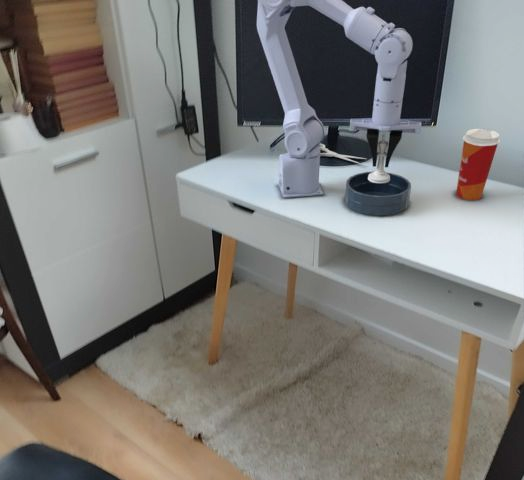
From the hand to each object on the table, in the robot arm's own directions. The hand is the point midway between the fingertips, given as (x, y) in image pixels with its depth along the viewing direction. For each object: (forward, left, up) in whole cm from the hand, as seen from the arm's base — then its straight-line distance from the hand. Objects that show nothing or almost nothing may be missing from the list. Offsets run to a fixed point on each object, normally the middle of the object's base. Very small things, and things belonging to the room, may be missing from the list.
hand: (380, 165), depth 119 cm
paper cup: (+22, 0, -9) cm, 24 cm away
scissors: (-3, +30, -9) cm, 31 cm away
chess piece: (0, 0, -3) cm, 3 cm away
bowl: (0, 0, -9) cm, 9 cm away
